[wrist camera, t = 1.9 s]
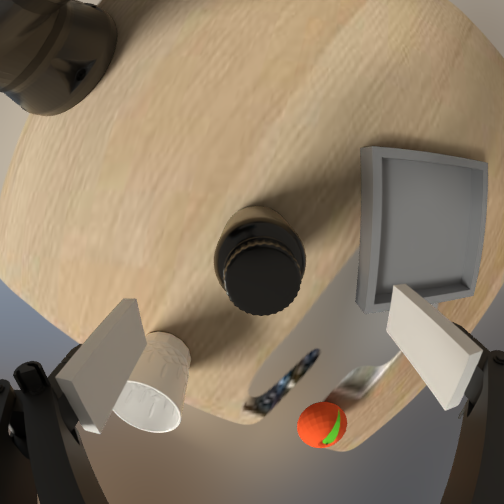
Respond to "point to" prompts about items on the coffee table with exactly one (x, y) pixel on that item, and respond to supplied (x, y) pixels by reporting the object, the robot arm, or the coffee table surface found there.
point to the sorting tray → (419, 225)
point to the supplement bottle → (259, 261)
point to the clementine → (322, 424)
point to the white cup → (156, 385)
